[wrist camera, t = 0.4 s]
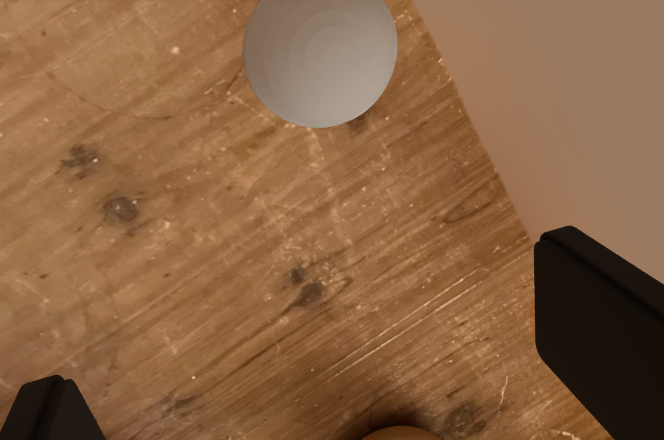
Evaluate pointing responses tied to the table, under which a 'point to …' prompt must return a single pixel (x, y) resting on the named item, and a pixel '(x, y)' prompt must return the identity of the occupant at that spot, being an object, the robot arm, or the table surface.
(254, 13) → the lollipop
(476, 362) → the table surface
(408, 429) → the pot
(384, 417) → the table surface
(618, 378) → the robot arm
